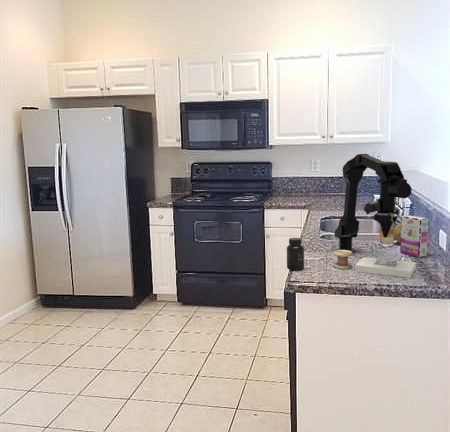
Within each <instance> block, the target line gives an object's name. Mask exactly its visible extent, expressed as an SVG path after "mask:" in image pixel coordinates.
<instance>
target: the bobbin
mask: <svg viewBox="0 0 450 432" xmlns="http://www.w3.org/2000/svg"><path fill="white" fill-rule="evenodd" d="M333 255H334V256H335V257H337V261H335V262H334V263H333V268H335V269H337V270H349V269H352V267H353V264H352V263H351V262H349V257H352V256H353V251H352V252H351V251H348V250H337V249H336V250H334V251H333Z"/></svg>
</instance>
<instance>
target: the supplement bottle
mask: <svg viewBox="0 0 450 432" xmlns="http://www.w3.org/2000/svg"><path fill="white" fill-rule="evenodd" d="M286 268H287V269H288V270H289V271H302V270H304V269H305V247H304V246H303V245H302V238H301V237H290V238H289V239H288V245H287V247H286Z"/></svg>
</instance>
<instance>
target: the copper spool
mask: <svg viewBox="0 0 450 432" xmlns="http://www.w3.org/2000/svg"><path fill="white" fill-rule="evenodd" d="M379 225H380V224H379ZM394 228H395V224H394V222H393V224H392V226H391V228H390V231H389V233H388V236H387V238H384V236H383V232H382V228H381V225H380V226H379V243H380V244H383V245H384V244H385V245H391V244H392V245H393V244H394V240H395V239H394Z"/></svg>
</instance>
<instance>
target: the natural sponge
mask: <svg viewBox="0 0 450 432" xmlns="http://www.w3.org/2000/svg"><path fill="white" fill-rule="evenodd" d="M394 240H396V242H397V243H398V244H399V245H401V223H399V224H397V225H396V226H394Z"/></svg>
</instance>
